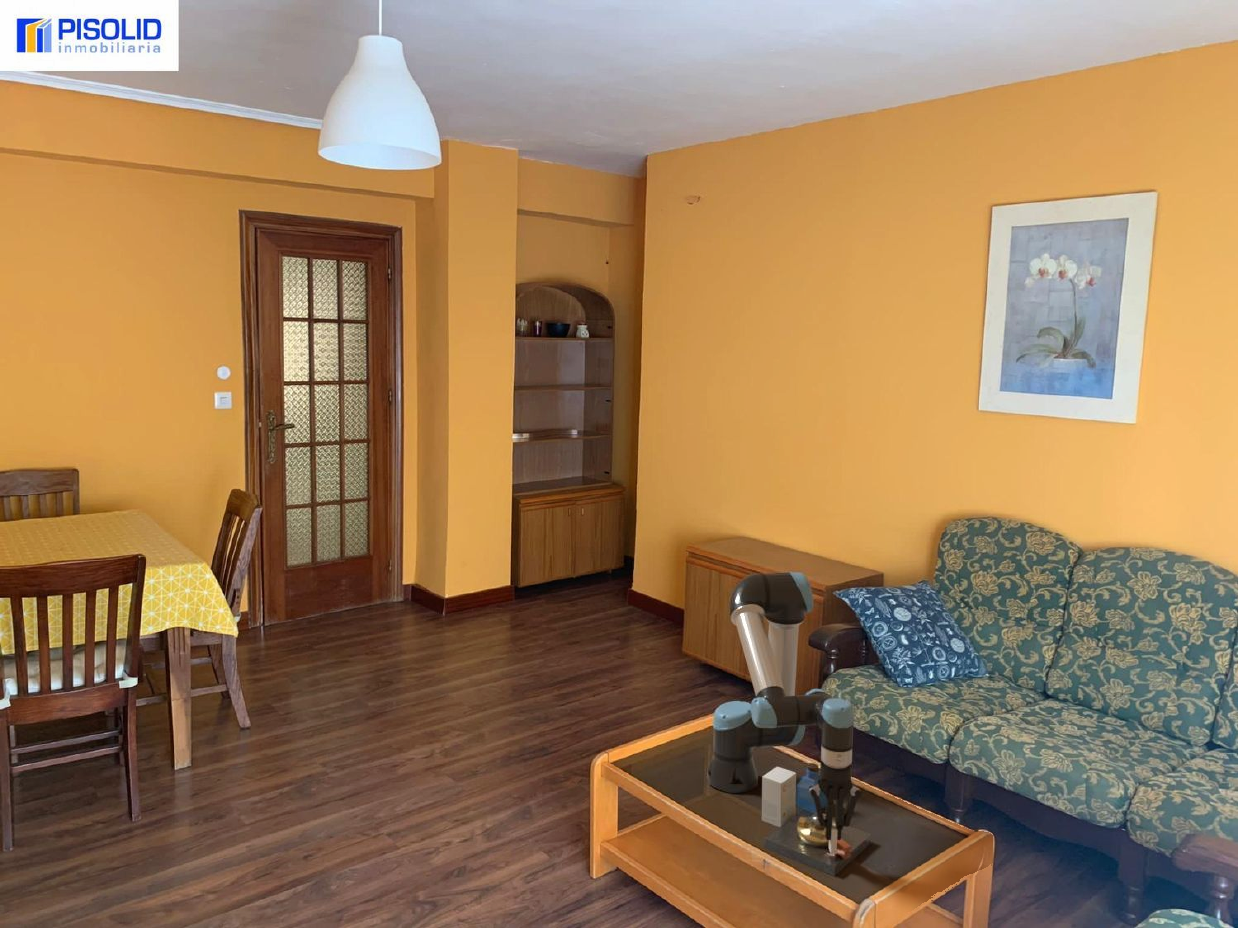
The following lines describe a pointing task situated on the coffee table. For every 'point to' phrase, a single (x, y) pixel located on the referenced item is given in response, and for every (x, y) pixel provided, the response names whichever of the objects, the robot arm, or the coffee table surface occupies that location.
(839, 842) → the gold tabbed disc
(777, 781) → the small box
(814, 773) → the perfume bottle
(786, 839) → the flange plate
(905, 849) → the coffee table surface
